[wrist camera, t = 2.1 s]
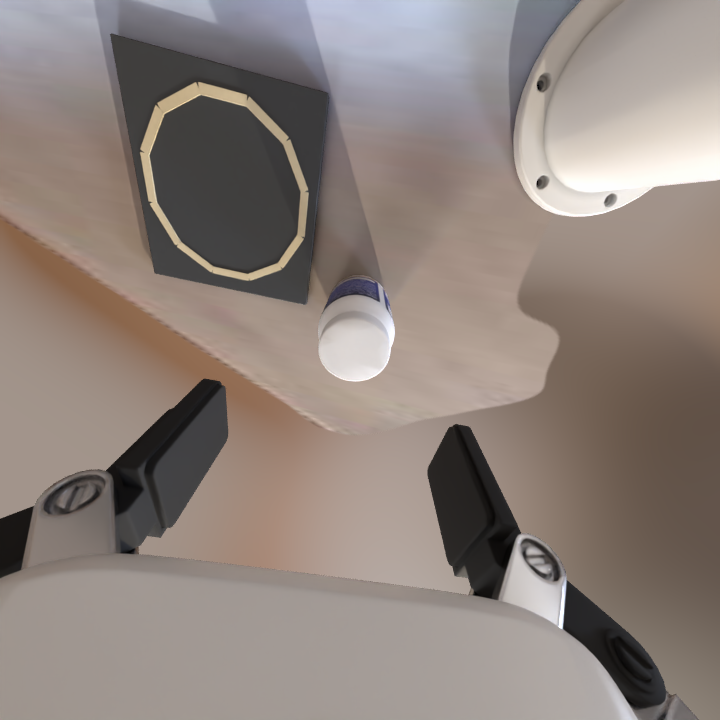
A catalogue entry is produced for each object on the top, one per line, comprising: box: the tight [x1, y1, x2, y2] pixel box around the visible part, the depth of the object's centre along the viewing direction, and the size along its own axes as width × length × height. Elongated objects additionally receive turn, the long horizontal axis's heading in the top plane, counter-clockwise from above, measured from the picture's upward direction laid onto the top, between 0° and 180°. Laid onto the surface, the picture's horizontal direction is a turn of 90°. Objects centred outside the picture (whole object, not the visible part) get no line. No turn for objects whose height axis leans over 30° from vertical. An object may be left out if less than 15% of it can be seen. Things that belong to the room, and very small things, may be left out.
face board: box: [110, 34, 329, 305], centre depth 21 cm, size 14×15×1 cm
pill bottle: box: [318, 275, 395, 381], centre depth 21 cm, size 6×6×10 cm
